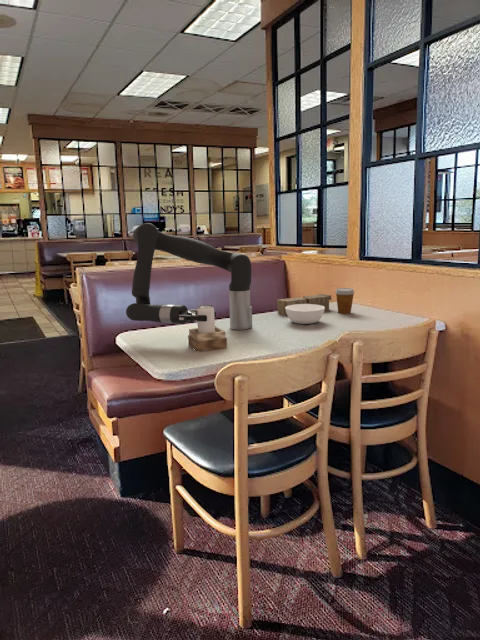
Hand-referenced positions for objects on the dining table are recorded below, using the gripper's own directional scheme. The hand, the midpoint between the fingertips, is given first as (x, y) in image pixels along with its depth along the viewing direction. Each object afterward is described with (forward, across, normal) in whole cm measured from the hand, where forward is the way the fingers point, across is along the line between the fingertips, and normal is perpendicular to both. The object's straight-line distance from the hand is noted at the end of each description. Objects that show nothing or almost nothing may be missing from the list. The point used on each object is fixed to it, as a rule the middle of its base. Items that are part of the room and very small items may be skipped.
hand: (211, 316), depth 186 cm
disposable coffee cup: (+36, +81, +12) cm, 89 cm away
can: (-2, 0, +8) cm, 8 cm away
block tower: (+16, +78, +13) cm, 81 cm away
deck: (-2, 0, +12) cm, 12 cm away
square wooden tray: (-2, 0, +8) cm, 8 cm away
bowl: (+23, +53, +12) cm, 59 cm away
